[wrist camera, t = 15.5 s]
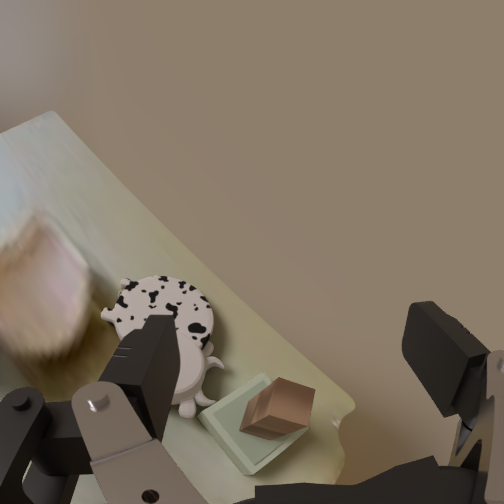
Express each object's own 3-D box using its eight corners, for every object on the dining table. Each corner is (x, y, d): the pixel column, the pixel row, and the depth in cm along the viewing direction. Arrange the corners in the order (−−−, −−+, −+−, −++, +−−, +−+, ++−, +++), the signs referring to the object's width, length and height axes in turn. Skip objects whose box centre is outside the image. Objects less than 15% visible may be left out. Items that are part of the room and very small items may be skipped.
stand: (243, 475, 36) (253, 474, 33) (197, 416, 40) (202, 410, 37) (297, 432, 43) (310, 427, 40) (254, 379, 47) (263, 370, 44)
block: (270, 440, 37) (308, 426, 29) (238, 430, 37) (269, 414, 29) (277, 411, 40) (315, 389, 33) (247, 401, 40) (278, 377, 32)
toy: (74, 379, 37) (207, 430, 39) (68, 364, 34) (213, 420, 36) (130, 279, 54) (235, 315, 56) (130, 260, 52) (242, 298, 53)
